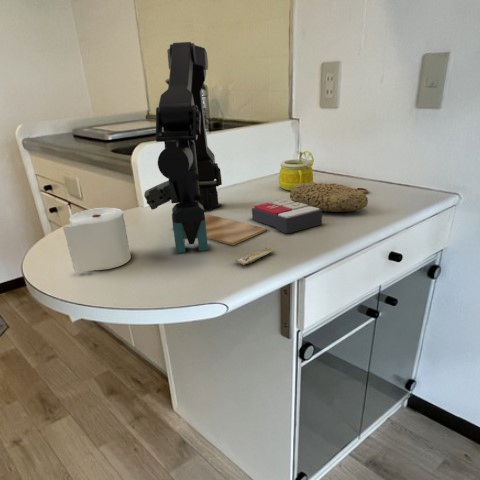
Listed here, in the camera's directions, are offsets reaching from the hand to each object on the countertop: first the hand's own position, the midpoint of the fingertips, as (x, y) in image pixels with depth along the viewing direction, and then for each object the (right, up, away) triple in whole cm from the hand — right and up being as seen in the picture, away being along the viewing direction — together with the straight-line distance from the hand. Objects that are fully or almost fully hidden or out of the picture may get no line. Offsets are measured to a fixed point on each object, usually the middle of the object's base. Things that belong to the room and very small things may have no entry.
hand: (191, 241), depth 97 cm
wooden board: (+6, +5, +11) cm, 14 cm away
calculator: (+23, +7, +14) cm, 28 cm away
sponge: (+35, +13, +22) cm, 43 cm away
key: (+44, +18, +30) cm, 57 cm away
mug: (+29, +24, +42) cm, 56 cm away
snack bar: (+14, -5, -6) cm, 16 cm away
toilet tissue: (-18, -5, -3) cm, 19 cm away
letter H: (0, -2, +1) cm, 2 cm away
